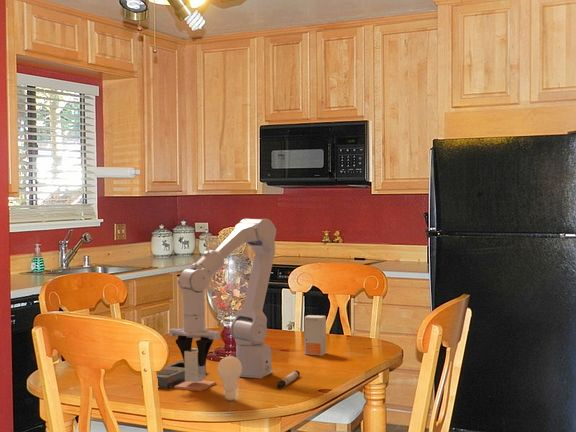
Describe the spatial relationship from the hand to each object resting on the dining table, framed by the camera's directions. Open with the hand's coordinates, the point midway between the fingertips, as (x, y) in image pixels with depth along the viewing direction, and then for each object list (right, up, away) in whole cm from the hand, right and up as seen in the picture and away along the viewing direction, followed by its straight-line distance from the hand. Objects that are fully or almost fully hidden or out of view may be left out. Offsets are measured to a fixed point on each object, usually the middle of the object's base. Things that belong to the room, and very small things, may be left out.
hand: (194, 365), depth 209 cm
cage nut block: (0, -4, 0) cm, 4 cm away
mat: (0, -6, 0) cm, 6 cm away
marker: (+25, -6, +2) cm, 25 cm away
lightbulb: (+10, -6, -14) cm, 19 cm away
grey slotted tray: (-7, -6, +9) cm, 12 cm away
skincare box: (+33, -4, +39) cm, 51 cm away
